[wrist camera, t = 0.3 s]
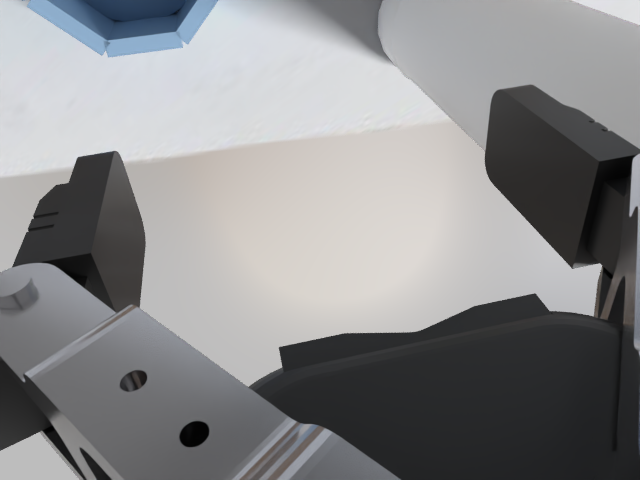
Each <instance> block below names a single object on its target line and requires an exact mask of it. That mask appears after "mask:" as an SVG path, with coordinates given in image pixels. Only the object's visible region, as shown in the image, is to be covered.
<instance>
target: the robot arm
mask: <svg viewBox="0 0 640 480" xmlns="http://www.w3.org/2000/svg"><path fill="white" fill-rule="evenodd" d="M485 166H486V171H487V174H488V177H489V179H490V181H491V182H492V183H493V184H494V186H495V187H496V188H497V189H498V190H499V191H500V192H501V193H502V194H503V195H504V196H505V197H506V198H507V199H508V200H509V201H510V203H511V204H512V205H513V206H514V207H515V208H516V209H517V210H518V211H519V212H520V213H521V214H522V215H523V216H524V217H525V219H526V220H527V221H528V222H529V223H530V224H531V225H532V226H533V227H534V228H535V229H536V230H537V231H538V232H539V234H540V235H541V236H542V237H543V238H544V239H545V240H546V241H547V242H548V243H549V244H550V245H551V246H552V247H553V248H554V249H555V251H556V252H557V253H558V254H559V255H560V256H561V257H562V258H563V259H564V260H565V261H566V262H567V263H568V264H569V265H570V267H571V268H572V269H574V268H578V267H583V266H588V265H593V264H598V263H600V264H601V265H602V269H601V272H600V276H599V279H598V284H597V293H596V302H595V311H594V317H593V316H589V315H583V314H577V313H570V312H557V311H549V310H548V309H547V307H546V306H545V305H544V304H543V303H542V301H541V300H540V299H539V298H538V296H537V295H536V294H530V295H526V296H521V297H516V298H511V299H507V300H502V301H497V302H492V303H488V304H483V305H478V306H474V307H472V308H470V309H468V310H465V311H463V312H461V313H459V314H457V315H454V316H452V317H450V318H448V319H445V320H443V321H441V322H439V323H437V324H435V325H432V326H430V327H428V328H426V329H423V330H421V331H418V332H410V333H350V334H349V333H347V334H340V335H335V336H331V337H326V338H321V339H316V340H311V341H307V342H302V343H297V344H292V345H288V346H283V347H279V351H280V356H281V362H282V368H280V369H278V370H276V371H274V372H272V373H270V374H268V375H267V376H265V377H263V378H261V379H259V380H258V381H256V382H255V383H253V384H252V385H251V386H249V387H247V386H246V385H244V384H243V383H242V382H240V381H239V380H238V379H236V378H235V377H234V376H232V375H231V374H229V373H228V372H227V371H225V370H224V369H223V368H221V367H220V366H218V365H217V364H215V363H214V362H213V361H211V360H210V359H209V358H207V357H206V356H205V355H203V354H202V353H201V352H199V351H198V350H196V349H195V348H194V347H192V346H191V345H190V344H188V343H187V342H186V341H184V340H183V339H181V338H180V337H179V336H177V335H176V334H175V333H173V332H172V331H170V330H169V329H168V328H166V327H165V326H164V325H162V324H161V323H159V322H158V321H157V320H155V319H154V318H153V317H151V316H150V315H149V314H147V313H146V312H144V311H143V310H141V309H140V308H139V307H140V297H141V286H142V276H143V265H144V254H145V232H144V227H143V222H142V218H141V215H140V212H139V209H138V206H137V203H136V200H135V197H134V194H133V191H132V188H131V185H130V182H129V179H128V176H127V173H126V170H125V167H124V164H123V161H122V159H121V157H120V155H119V153H118V152H117V151H112V152H106V153H100V154H94V155H88V156H82V157H78V158H77V160H76V163H75V166H74V169H73V172H72V175H71V178H70V181H69V183H67V184H60V185H56V186H55V187H54V188H53V189H52V190H50V191H49V192H48V193H47V194H46V195H45V196H44V197H43V198H42V199H41V200H40V201H39V204H38V206H37V208H36V211H35V213H34V216H33V217H34V219H32V220H31V223H30V225H29V228H28V231H29V232H27V233H26V235H25V237H24V240H23V242H22V245H21V247H20V249H19V252H18V254H17V257H16V259H15V262H14V264H13V266H12V268H10V269H7V270H5V271H2V272H0V451H1V450H3V449H5V448H7V447H9V446H11V445H13V444H15V443H17V442H19V441H21V440H24V439H26V438H28V437H30V436H32V435H34V434H36V433H38V432H40V433H41V435H42V436H43V437H44V438H45V439H46V441H47V442H48V443H49V444H50V445H51V447H52V448H53V449H54V450H55V451H56V452H57V454H59V456H60V457H61V458H62V459H63V460H64V462H65V463H66V464H67V465H68V467H70V469H71V470H72V471H73V472H74V474H75V475H76V476H77V477H78V478H79V479H80V480H640V149H639V148H637V147H636V146H634V145H633V144H631V143H630V142H628V141H627V140H625V139H624V138H622V137H620V136H619V135H617V134H616V133H614V132H613V131H608V128H607V127H605V126H603V125H602V124H600V123H599V122H595V120H594V119H593V118H591V117H590V116H588V115H586V114H585V113H583V112H582V111H580V110H578V109H575V108H572V107H569V106H566V105H563V104H562V103H560V102H559V101H557V100H556V99H554V98H553V97H551V96H549V95H548V94H546V93H545V92H543V91H542V90H540V89H539V88H537V87H536V86H534V85H531V84H530V85H524V86H518V87H511V88H505V89H499V90H497V91H496V92H495V93H494V94H493V96H492V99H491V105H490V114H489V123H488V132H487V141H486V150H485Z"/></svg>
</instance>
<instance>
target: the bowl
mask: <svg viewBox="0 0 640 480" xmlns="http://www.w3.org/2000/svg"><path fill="white" fill-rule="evenodd" d="M22 1H23V0H22ZM217 1H218V0H30V2H29V3H28V5H27V7H28V8H30V9H31V10H33V11H34V12H36V13H37V14H39V15H41V16H42V17H44V18H45V19H47V20H48V21H50V22H51V23H53V24H54V25H56V26H57V27H59V28H60V29H62V30H63V31H65V32H66V33H68V34H70V35H71V36H73V37H74V38H76V39H77V40H79V41H80V42H82V43H83V44H85V45H86V46H88V47H89V48H91V49H92V50H94V51H95V52H97V53H99V54H100V55H103V53H104V52H105V50H106V52H107V55H108V57H115V56H122V55H130V54H137V53H145V52H153V51H160V50H168V49H175V48H183V41H184V42H185V43H186V44H189V42H190V41H191V39H192V38H193V36H194V35H195V33H196V32H197V31H198V29H199V28H200V26H201V25H202V23H203V22H204V20H205V19H206V17H207V16H208V15H209V13H210V12H211V10H212V9H213V7H214V6H215V4H216V3H217ZM176 11H177V12H176Z"/></svg>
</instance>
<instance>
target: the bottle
mask: <svg viewBox="0 0 640 480" xmlns="http://www.w3.org/2000/svg"><path fill="white" fill-rule="evenodd" d="M378 35H379V38H380V41H381V44H382V47H383V51H384V52H385V53H386V54H387V56H388V57H389V58H390V60H391V61H392V62H393V63H394V65H395V66H396V67H397V68H398V70H399V71H400V72H401V73H402V74H403V75H404V76H405V77H406V78H408V79H410V80H411V81H412V82H413V83H414V84H416V85H417V86H418V87H419V88H420V89H421V90H422V91H423V92H424V93H425V94H426V95H427V96H428V97H429V98H430V99H431V100H432V101H433V102H434V103H435V104H436V105H437V106H438V107H439V108H440V109H442V110H443V111H444V112H445V113H446V114H447V115H448V116H449V117H450V118H451V119H452V120H453V121H454V122H455V123H456V124H457V125H458V126H459V127H460V128H461V129H462V130H463V131H464V132H465V133H466V134H468V135H469V136H470V137H471V138H472V139H473V140H474V141H475V142H476V143H477V144H478V145H479V146H480V147H481V148H482V149H483V150H484V151H485V150H486V141H487V132H488V123H489V114H490V105H491V99H492V96H493V94H494V93H495V92H496V91H497V90H499V89H505V88H511V87H518V86H524V85H530V84H531V85H534V86H536V87H537V88H539V89H540V90H542V91H543V92H545V93H546V94H548V95H549V96H551V97H553V98H554V99H556V100H557V101H559V102H560V103H562V104H563V105H566V106H569V107H572V108H575V109H578V110H580V111H582V112H583V113H585V114H586V115H588V116H590V117H591V118H593V119H594V120H595V122H599V123H600V124H602V125H603V126H605V127H607V128H608V131H613V132H614V133H616V134H617V135H619V136H620V137H622V138H624V139H625V140H627V141H628V142H630V143H631V144H633V145H634V146H636V147H637V148H639V149H640V25H637V24H634V23H632V22H629V21H626V20H623V19H621V18H618V17H615V16H612V15H609V14H607V13H604V12H601V11H598V10H595V9H593V8H590V7H587V6H584V5H582V4H579V3H576V2H573V1H570V0H383V1H382V4H381V7H380V10H379V15H378Z"/></svg>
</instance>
